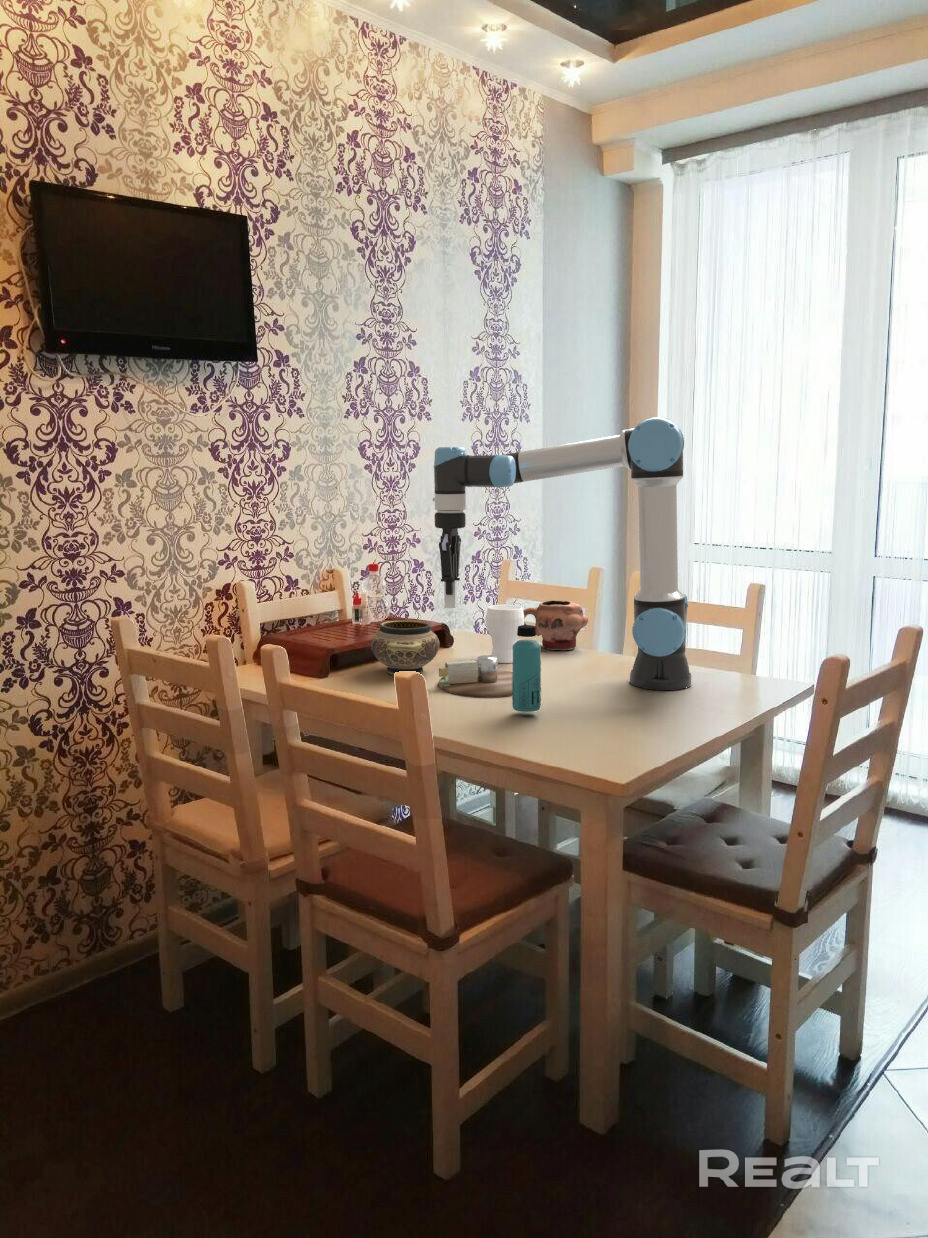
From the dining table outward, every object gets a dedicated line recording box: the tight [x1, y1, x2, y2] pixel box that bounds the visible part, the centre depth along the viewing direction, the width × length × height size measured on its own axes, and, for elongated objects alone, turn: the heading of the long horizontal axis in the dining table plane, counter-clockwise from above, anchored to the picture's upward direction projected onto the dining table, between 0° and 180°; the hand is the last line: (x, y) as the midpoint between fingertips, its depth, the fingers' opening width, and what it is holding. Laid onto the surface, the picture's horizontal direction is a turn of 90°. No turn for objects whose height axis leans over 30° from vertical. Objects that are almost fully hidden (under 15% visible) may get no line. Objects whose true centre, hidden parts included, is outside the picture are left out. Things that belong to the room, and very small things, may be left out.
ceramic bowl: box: [370, 619, 441, 675], centre depth 245 cm, size 24×18×15 cm
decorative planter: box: [523, 600, 589, 651], centre depth 275 cm, size 20×12×14 cm, turn 86°
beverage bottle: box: [511, 624, 542, 713], centre depth 204 cm, size 6×7×20 cm
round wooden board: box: [438, 669, 513, 698], centre depth 232 cm, size 24×24×1 cm
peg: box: [438, 654, 499, 684], centre depth 230 cm, size 15×5×6 cm, turn 106°
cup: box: [485, 603, 525, 664], centre depth 258 cm, size 11×11×15 cm
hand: (450, 607), depth 230 cm, fingers closed
